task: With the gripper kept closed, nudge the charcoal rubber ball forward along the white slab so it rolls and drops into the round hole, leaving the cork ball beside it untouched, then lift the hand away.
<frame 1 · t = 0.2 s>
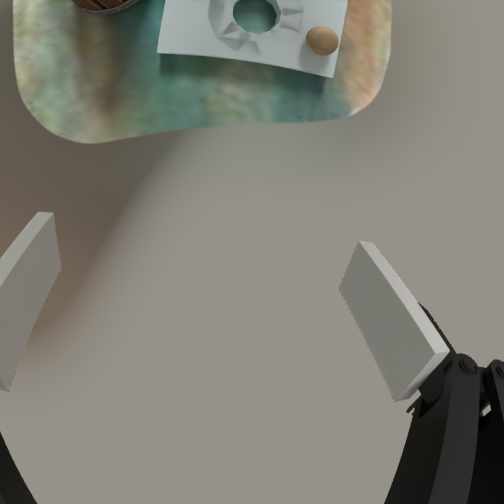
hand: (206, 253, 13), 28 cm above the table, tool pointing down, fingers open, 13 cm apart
cork ball: (322, 40, 28), point 4 cm above the table, touching white slab
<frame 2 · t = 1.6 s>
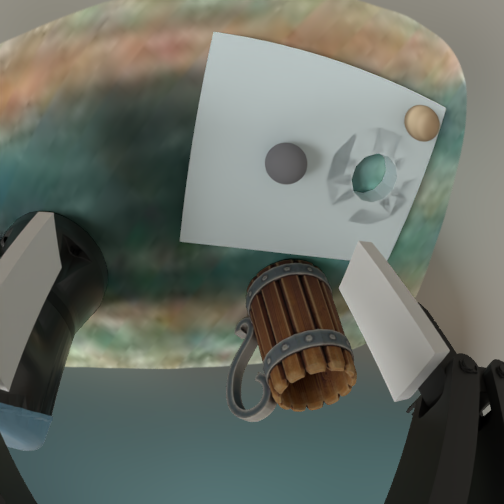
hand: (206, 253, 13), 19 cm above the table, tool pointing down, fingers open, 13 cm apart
white slab: (314, 157, 30), on the table
ball: (286, 163, 26), point 4 cm above the table, touching white slab
mug: (270, 300, 40), on the table
cork ball: (422, 123, 25), point 4 cm above the table, touching white slab
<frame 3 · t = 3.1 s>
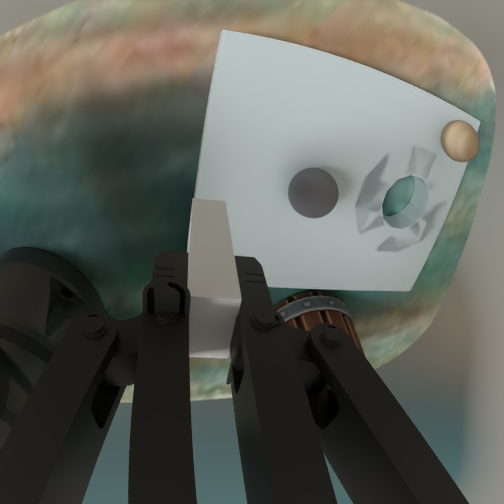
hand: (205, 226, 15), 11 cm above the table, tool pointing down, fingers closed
white slab: (339, 180, 26), on the table
ball: (313, 192, 22), point 4 cm above the table, touching white slab
mug: (285, 332, 36), on the table
cork ball: (460, 141, 21), point 4 cm above the table, touching white slab
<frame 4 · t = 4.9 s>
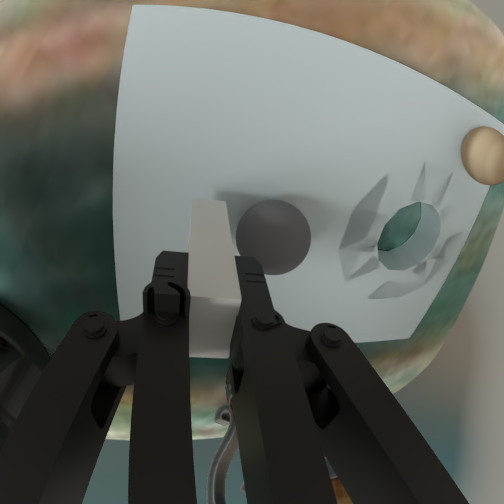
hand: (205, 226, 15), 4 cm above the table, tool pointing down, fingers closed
white slab: (319, 208, 20), on the table
ball: (273, 237, 15), point 4 cm above the table, touching white slab
mug: (257, 381, 30), on the table
cork ball: (487, 155, 14), point 4 cm above the table, touching white slab
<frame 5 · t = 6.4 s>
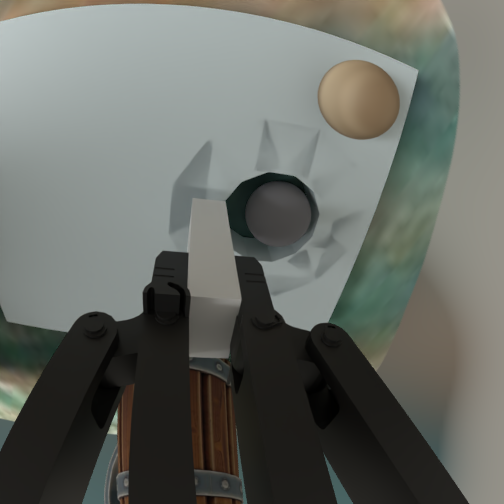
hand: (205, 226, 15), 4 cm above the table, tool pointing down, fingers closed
white slab: (160, 190, 17), on the table
ball: (278, 213, 17), point 2 cm above the table, tilted 8°
mug: (159, 379, 27), on the table
cork ball: (358, 99, 12), point 4 cm above the table, touching white slab
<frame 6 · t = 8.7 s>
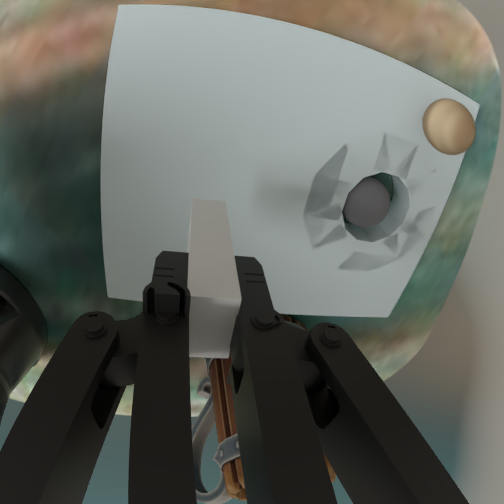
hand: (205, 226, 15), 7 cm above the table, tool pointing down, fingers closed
white slab: (288, 179, 21), on the table
ball: (364, 201, 21), point 2 cm above the table, tilted 34°
mug: (239, 355, 31), on the table
cork ball: (449, 126, 15), point 4 cm above the table, touching white slab
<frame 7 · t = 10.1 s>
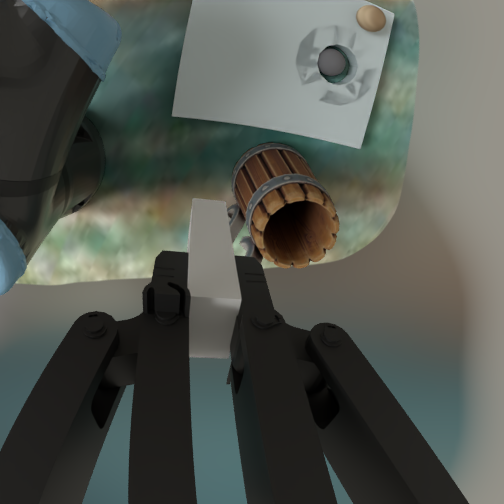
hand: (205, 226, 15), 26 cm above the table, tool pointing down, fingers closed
white slab: (285, 52, 32), on the table
ball: (330, 62, 32), point 2 cm above the table, tilted 33°
mug: (255, 189, 43), on the table
cork ball: (371, 18, 27), point 4 cm above the table, touching white slab
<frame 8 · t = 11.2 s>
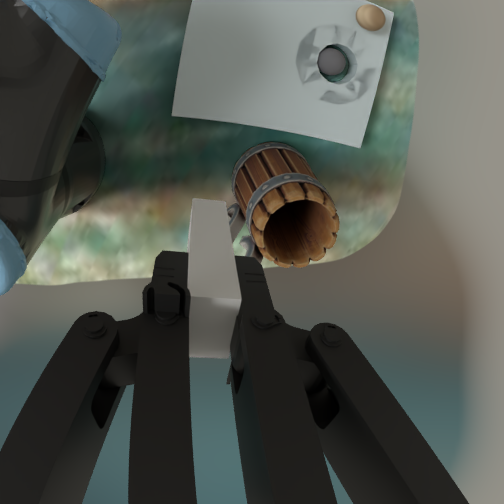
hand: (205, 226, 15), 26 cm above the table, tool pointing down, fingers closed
white slab: (285, 51, 32), on the table
ball: (330, 61, 32), point 2 cm above the table, tilted 31°
mug: (255, 188, 42), on the table
cork ball: (370, 17, 27), point 4 cm above the table, touching white slab
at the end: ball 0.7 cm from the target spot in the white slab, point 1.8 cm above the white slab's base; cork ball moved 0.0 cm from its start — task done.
